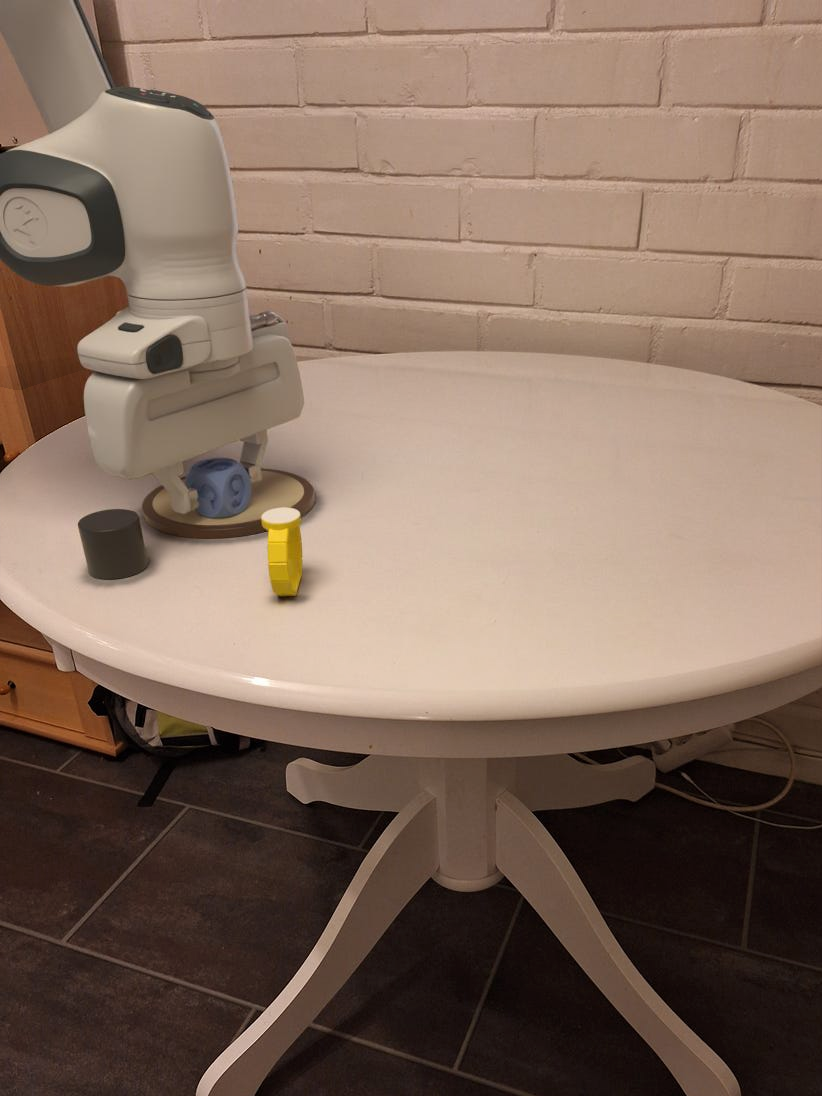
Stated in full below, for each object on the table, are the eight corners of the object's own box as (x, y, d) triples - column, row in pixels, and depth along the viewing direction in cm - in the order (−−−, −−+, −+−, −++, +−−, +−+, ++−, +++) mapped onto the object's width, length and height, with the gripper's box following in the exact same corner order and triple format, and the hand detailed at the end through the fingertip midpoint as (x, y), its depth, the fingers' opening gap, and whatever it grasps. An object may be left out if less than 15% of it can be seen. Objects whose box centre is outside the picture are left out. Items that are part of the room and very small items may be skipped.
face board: (106, 515, 82) (103, 502, 82) (231, 465, 93) (229, 453, 93) (230, 553, 75) (228, 539, 75) (348, 494, 86) (347, 482, 86)
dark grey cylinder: (76, 571, 73) (64, 523, 71) (122, 550, 76) (112, 504, 74) (114, 584, 71) (103, 535, 69) (160, 563, 74) (151, 515, 72)
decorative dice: (218, 498, 83) (211, 454, 81) (255, 505, 82) (249, 461, 80) (188, 514, 80) (180, 469, 78) (226, 521, 79) (219, 476, 77)
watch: (278, 570, 73) (269, 498, 70) (313, 570, 73) (306, 497, 70) (263, 607, 67) (253, 530, 64) (302, 606, 67) (293, 530, 64)
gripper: (257, 303, 82) (275, 455, 89) (56, 350, 67) (96, 528, 74) (312, 310, 79) (326, 467, 86) (115, 361, 64) (151, 545, 71)
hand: (218, 496), depth 80 cm, fingers open, 6 cm apart
